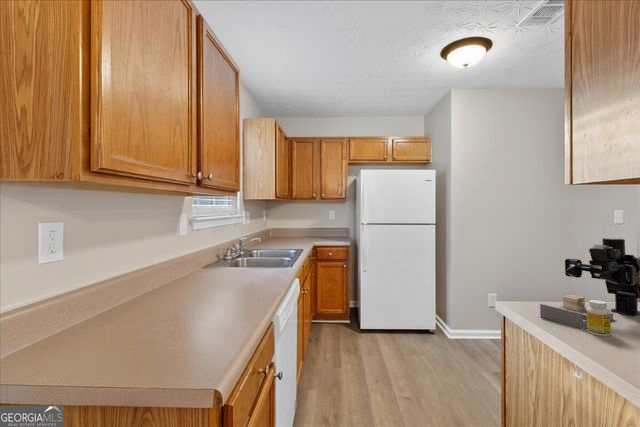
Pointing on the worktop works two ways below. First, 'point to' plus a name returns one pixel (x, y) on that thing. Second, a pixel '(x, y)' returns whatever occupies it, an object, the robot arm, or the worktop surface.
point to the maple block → (574, 302)
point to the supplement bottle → (598, 318)
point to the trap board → (566, 315)
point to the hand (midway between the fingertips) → (583, 273)
